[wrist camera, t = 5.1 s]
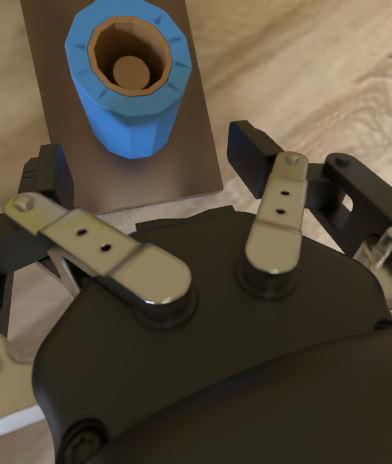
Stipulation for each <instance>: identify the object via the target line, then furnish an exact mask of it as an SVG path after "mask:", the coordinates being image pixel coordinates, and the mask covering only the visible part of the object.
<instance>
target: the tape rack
mask: <svg viewBox="0 0 392 464" xmlns="http://www.w3.org/2000/svg"><path fill="white" fill-rule="evenodd" d="M95 1H97V0H20V2H21V7H22V11H23V16H24V21H25V25H26V30H27V34H28V39H29V44H30V48H31V53H32V58H33V62H34V67H35V71H36V76H37V81H38V85H39V90H40V94H41V99H42V104H43V108H44V113H45V118H46V122H47V127H48V131H49V136H50V141H51V144H55V143H60V145H61V147H62V149H63V152H64V155H65V158H66V161H67V163H68V166H69V169H70V172H71V175H72V178H73V183H74V208H75V207H80V208H82V209H84V210H85V211H87V212H89V213H90V214H92V215H94V216H95V215H100V214H106V213H111V212H117V211H122V210H128V209H133V208H138V207H144V206H149V205H155V204H160V203H166V202H171V201H176V200H182V199H187V198H193V197H198V196H204V195H209V194H214V193H219V192H220V191H222V190H223V185H222V180H221V175H220V170H219V165H218V160H217V156H216V151H215V146H214V141H213V136H212V131H211V126H210V122H209V117H208V112H207V107H206V102H205V97H204V92H203V88H202V83H201V78H200V73H199V68H198V63H197V58H196V54H195V49H194V44H193V39H192V34H191V29H190V24H189V20H188V15H187V10H186V5H185V0H144V1H146V2H148V3H150V4H152V5H154V6H156V7H158V8H160V9H162V10H164V11H165V12H166V13H167V14H168V15H169V16H170V18H171V19H172V20H173V21H174V23H175V24H176V25H177V26H178V28H179V29H180V30H181V31H182V33H183V34H184V35H185V37H186V39H187V44H188V49H189V54H190V59H191V63H192V70H191V73H190V76H189V79H188V82H187V85H186V88H185V91H184V94H183V97H182V100H181V103H180V106H179V109H178V112H177V115H176V118H175V121H174V124H173V127H172V130H171V133H170V136H169V139H168V142H167V143H166V145H164V146H163V147H162V148H161V149H159V150H158V151H157V152H156V153H155V154H153V155H152V156H149V157H142V158H135V159H128V158H125V157H123V156H120V155H117V154H115V153H112V152H110V151H108V150H107V149H106V148H105V147H104V145H103V144H102V143H101V142H100V141H99V140H98V139H97V138H96V136H95V135H94V133H93V131H92V128H91V126H90V123H89V121H88V118H87V116H86V113H85V110H84V108H83V105H82V103H81V100H80V97H79V95H78V92H77V90H76V87H75V85H74V82H73V79H72V77H71V73H70V68H69V63H68V59H67V54H66V49H65V41H66V39H67V36H68V34H69V31H70V28H71V26H72V23H73V21H74V18H75V16H76V14H77V13H78V12H80V11H81V10H83V9H84V8H86V7H87V6H89V5H91V4H92V3H94V2H95ZM113 78H114V85H117V86H119V87H122V88H124V89H126V90H129V91H132V90H142V89H148V88H149V83H150V72H149V69H148V67H147V65H146V64H145V63H144V62H143V61H142V60H141V59H139V58H137V57H135V56H124V57H121V58H120V59H118V60H117V61H116V63H115V64H114V67H113Z"/></svg>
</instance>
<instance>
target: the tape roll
mask: <svg viewBox="0 0 392 464" xmlns="http://www.w3.org/2000/svg"><path fill="white" fill-rule="evenodd" d="M65 49H66V54H67V59H68V63H69V68H70V73H71V77H72V79H73V82H74V85H75V87H76V90H77V92H78V95H79V97H80V100H81V103H82V105H83V108H84V110H85V113H86V116H87V118H88V121H89V123H90V126H91V128H92V131H93V133H94V135H95V136H96V138H97V139H98V140H99V141H100V142H101V143H102V144H103V145H104V147H105V148H106V149H107V150H108V151H110V152H112V153H115V154H117V155H120V156H123V157H125V158H128V159H135V158H142V157H149V156H152V155H153V154H155V153H156V152H157V151H158V150H159V149H161V148H162V147H163V146H164V145H166V143H167V142H168V139H169V136H170V133H171V130H172V127H173V124H174V121H175V118H176V115H177V112H178V109H179V106H180V103H181V100H182V97H183V94H184V91H185V88H186V85H187V82H188V79H189V76H190V73H191V70H192V63H191V59H190V54H189V49H188V44H187V39H186V37H185V35H184V34H183V33H182V31H181V30H180V29H179V28H178V26H177V25H176V24H175V23H174V21H173V20H172V19H171V18H170V16H169V15H168V14H167V13H166V12H165V11H164V10H162V9H160V8H158V7H156V6H154V5H152V4H150V3H148V2H146V1H144V0H97V1H95V2H94V3H92V4H91V5H89V6H87V7H86V8H84V9H83V10H81V11H80V12H78V13H77V14H76V16H75V18H74V21H73V23H72V26H71V28H70V31H69V34H68V36H67V39H66V41H65ZM124 56H135V57H137V58H139V59H141V60H142V61H143V62H144V63H145V64H146V65H147V67H148V69H149V72H150V83H149V88H148V89H142V90H132V91H129V90H126V89H124V88H122V87H119V86H117V85H114V78H113V67H114V64H115V63H116V61H117V60H118V59H120V58H121V57H124Z"/></svg>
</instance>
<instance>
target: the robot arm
mask: <svg viewBox="0 0 392 464" xmlns="http://www.w3.org/2000/svg"><path fill="white" fill-rule="evenodd" d="M227 157H228V161H229V163H230V164H231V166H232V167H233V168H234V170H235V171H236V173H237V174H238V175H239V177H240V178H241V179H242V181H243V182H244V183H245V185H246V186H247V187H248V189H249V190H250V192H251V193H252V194H253V196H254V197H255V198H256V199H261V198H262V200H261V203H260V206H259V209H258V212H257V215H255V214H252V213H247V212H239V211H235V210H234V208H233V206H232V205H229V206H224V207H219V208H214V209H209V210H207V211H204V212H202V213H199V214H197V215H194V216H192V217H189V218H183V219H157V220H152V221H147V222H142V223H137V224H136V230H137V231H135V232H133V233H131V234H129V235H126V234H124V233H123V232H121V231H119V230H118V229H116V228H114V227H113V226H111V225H109V224H107V223H106V222H104V221H102V220H101V219H99V218H97V217H96V216H94V215H92V214H90V213H89V212H87V211H85V210H84V209H82V208H80V207H75V208H74V183H73V178H72V175H71V172H70V169H69V166H68V163H67V161H66V158H65V155H64V152H63V149H62V147H61V145H60V143H55V144H47V145H41V148H40V153H39V157H37V158H31V159H30V160H29V161H28V162H27V163H26V164H25V165H24V169H23V174H22V179H21V182H20V186H19V190H18V195H15V196H13V197H11V198H10V199H8V200H7V201H6V202H5V203H4V205H3V208H2V209H3V212H4V213H2V214H0V436H2V435H5V434H7V433H10V432H13V431H15V430H18V429H20V428H23V427H26V426H28V425H31V424H33V423H36V422H39V421H41V420H44V419H47V422H48V425H49V427H50V430H51V434H52V438H53V443H54V451H55V464H392V314H391V312H390V310H392V187H391V186H390V185H388V184H387V183H386V182H385V181H383V180H382V179H381V178H380V177H379V176H377V175H376V174H375V173H374V172H372V171H371V170H370V169H369V168H367V167H366V166H365V165H364V164H362V163H361V162H360V161H359V160H357V159H356V158H354V157H353V156H350V155H348V154H343V153H332V154H329V155H328V156H327V157H326V160H325V163H324V164H317V163H309V160H308V158H307V157H306V156H304V155H302V154H300V153H297V152H292V151H286V152H285V151H284V150H283V149H282V148H281V147H280V146H279V145H278V144H276V143H275V142H274V141H273V140H272V139H271V138H270V137H269V136H268V135H267V134H266V133H265V132H263V131H261V130H258V129H255V128H254V127H253V126H252V125H251V124H250V123H249V122H248V121H247V120H241V121H233V122H231V123H230V126H229V135H228V146H227ZM346 194H347V195H348V196H349V197H350V198H351V199H352V202H353V209H352V211H351V212H350V211H349V210H348V209H347V208H346V207H345V206H344V205H343V204H342V202H343V199H344V197H345V195H346ZM304 208H309V210H310V212H311V213H312V214H313V215H314V217H315V218H316V219H317V220H318V221H319V223H320V224H321V225H322V226H323V228H324V229H325V230H326V231H327V232H328V234H329V235H330V236H331V237H332V239H333V240H334V241H335V242H336V244H337V245H338V246H339V247H340V248H341V250H342V251H343V252H344V253H345V254H343V253H341V252H339V251H336V250H334V249H332V248H330V247H328V246H325V245H323V244H321V243H319V242H317V241H314V240H312V239H310V238H308V237H305V236H303V235H302V231H301V227H302V220H303V213H304ZM34 262H35V263H36V264H37V265H38V266H39V267H41V268H42V269H43V270H44V271H46V272H47V273H48V274H49V275H51V276H52V277H53V278H54V279H56V280H57V281H58V282H59V283H61V284H62V285H63V286H64V287H65V288H66V289H67V290H68V291H69V293H70V294H71V295H72V296H73V297H74V298H75V299H74V300H73V301H72V303H71V304H70V305H69V307H68V308H67V310H66V311H65V312H64V314H63V315H62V316H61V318H60V319H59V320H58V322H57V323H56V324H55V326H54V327H53V328H52V330H51V331H50V332H49V334H48V335H47V336H46V338H45V339H44V341H43V342H42V344H41V345H40V347H39V349H38V351H37V354H36V356H35V359H34V361H33V362H27V363H24V360H23V356H22V353H21V352H20V351H19V350H18V349H17V348H16V347H15V346H14V345H13V344H12V343H11V342H10V341H9V340H8V339H7V333H8V324H9V314H10V305H11V295H12V286H13V277H14V271H16V270H18V269H21V268H23V267H25V266H27V265H30V264H32V263H34Z"/></svg>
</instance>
